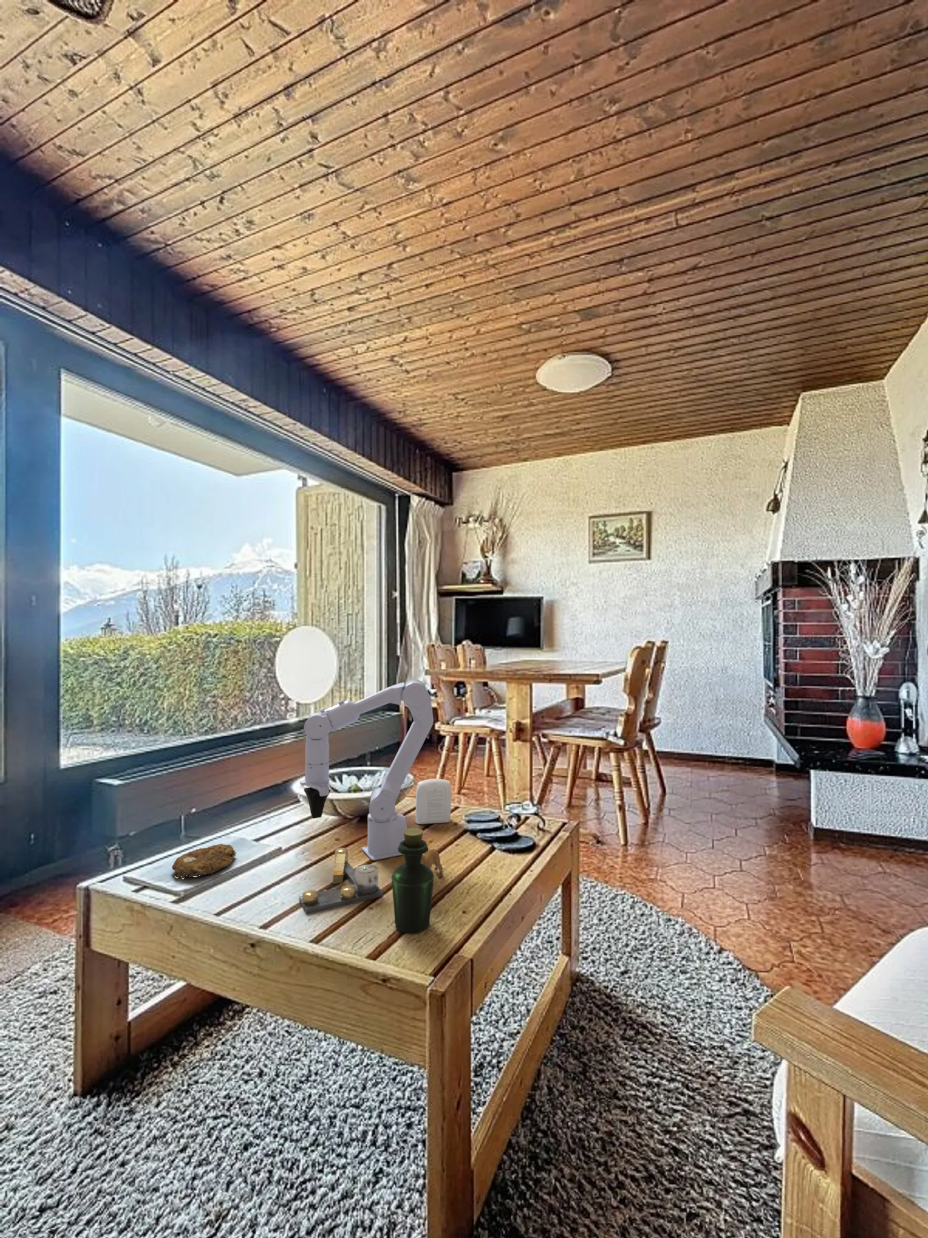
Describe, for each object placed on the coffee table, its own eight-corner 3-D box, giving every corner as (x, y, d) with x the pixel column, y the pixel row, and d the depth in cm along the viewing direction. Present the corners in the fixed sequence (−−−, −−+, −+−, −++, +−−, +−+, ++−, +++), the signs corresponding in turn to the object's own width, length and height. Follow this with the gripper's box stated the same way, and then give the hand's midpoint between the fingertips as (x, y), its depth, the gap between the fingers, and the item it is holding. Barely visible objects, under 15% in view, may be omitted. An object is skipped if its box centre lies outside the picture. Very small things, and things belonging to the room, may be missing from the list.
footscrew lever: (335, 861, 139) (335, 848, 139) (348, 860, 140) (348, 847, 140) (330, 889, 125) (330, 874, 125) (344, 888, 125) (344, 874, 125)
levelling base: (355, 864, 138) (355, 840, 138) (382, 896, 122) (382, 869, 122) (287, 878, 130) (287, 853, 130) (306, 914, 114) (306, 885, 114)
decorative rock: (210, 853, 145) (161, 881, 131) (209, 837, 145) (160, 863, 130) (248, 857, 141) (202, 886, 127) (247, 841, 141) (201, 868, 127)
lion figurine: (426, 902, 120) (427, 859, 120) (402, 899, 121) (402, 856, 121) (446, 872, 134) (446, 833, 134) (424, 869, 136) (424, 831, 136)
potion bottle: (389, 937, 107) (390, 840, 106) (392, 914, 115) (393, 824, 115) (433, 936, 107) (434, 839, 107) (433, 914, 115) (434, 824, 115)
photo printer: (448, 818, 171) (449, 776, 171) (452, 823, 166) (452, 780, 166) (414, 820, 168) (414, 778, 168) (416, 826, 164) (417, 782, 164)
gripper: (294, 757, 147) (293, 810, 147) (307, 771, 135) (307, 829, 135) (321, 754, 151) (321, 806, 151) (337, 767, 138) (337, 824, 138)
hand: (316, 817), depth 143 cm, fingers closed
